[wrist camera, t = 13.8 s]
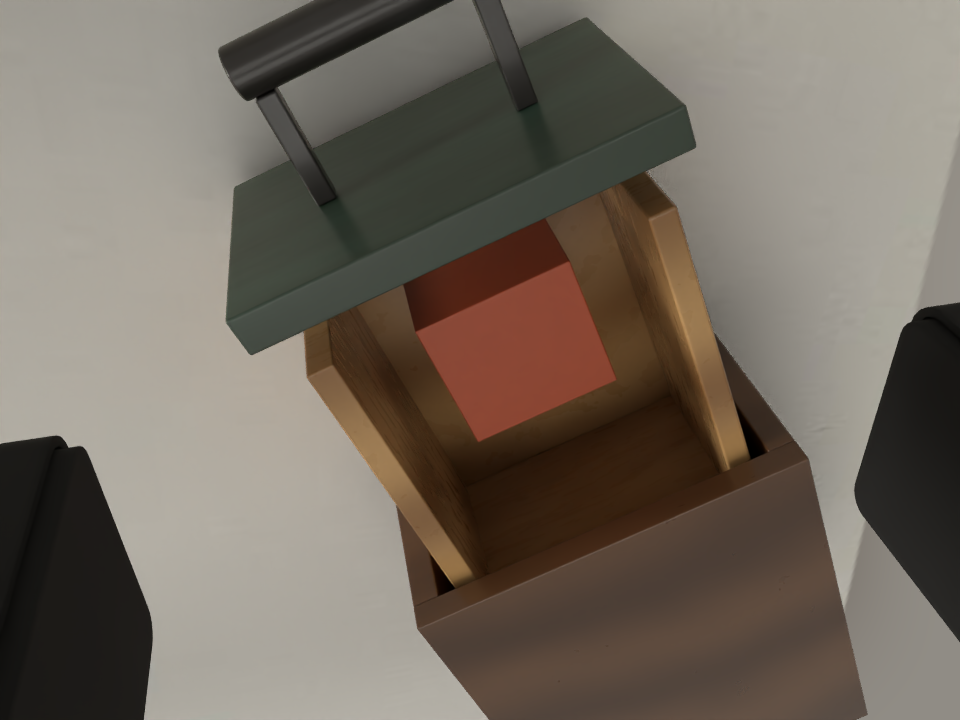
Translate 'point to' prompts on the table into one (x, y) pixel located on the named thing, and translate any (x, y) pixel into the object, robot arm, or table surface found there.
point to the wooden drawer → (460, 231)
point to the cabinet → (662, 604)
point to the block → (509, 330)
